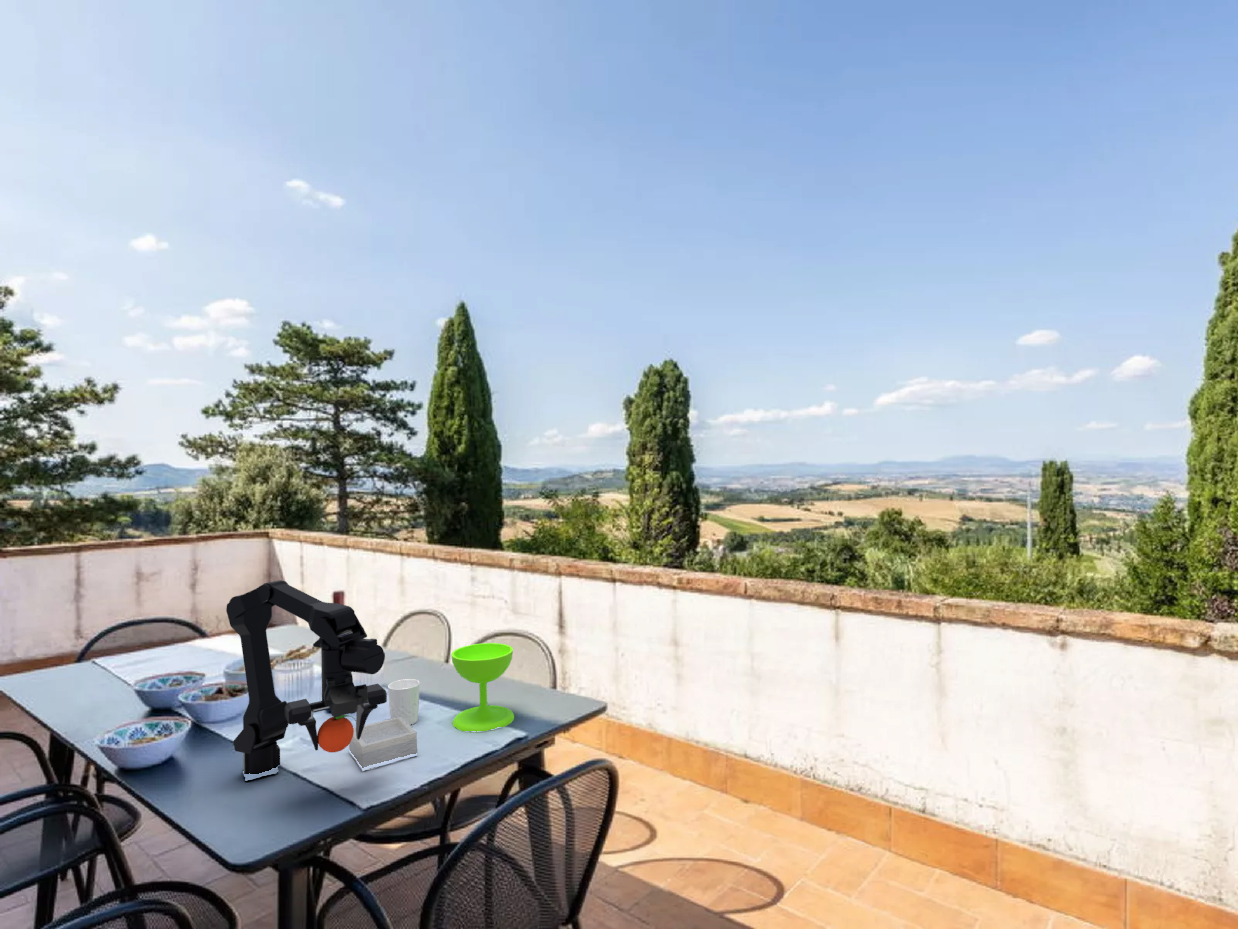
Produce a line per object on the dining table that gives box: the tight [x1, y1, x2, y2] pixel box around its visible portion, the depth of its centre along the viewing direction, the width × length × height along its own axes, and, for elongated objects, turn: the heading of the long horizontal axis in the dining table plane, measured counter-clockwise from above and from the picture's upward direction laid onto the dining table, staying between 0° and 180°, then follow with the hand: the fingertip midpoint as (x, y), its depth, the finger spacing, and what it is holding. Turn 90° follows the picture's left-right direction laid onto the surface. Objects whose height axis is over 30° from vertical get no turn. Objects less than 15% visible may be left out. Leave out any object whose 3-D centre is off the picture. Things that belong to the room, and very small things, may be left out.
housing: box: [348, 716, 418, 768], centre depth 145 cm, size 12×12×6 cm
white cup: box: [387, 678, 421, 726], centre depth 164 cm, size 8×8×10 cm
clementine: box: [317, 714, 357, 754], centre depth 129 cm, size 8×7×7 cm
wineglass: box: [450, 642, 515, 733], centre depth 164 cm, size 16×16×18 cm
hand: (337, 744), depth 129 cm, fingers closed on clementine, 8 cm apart
